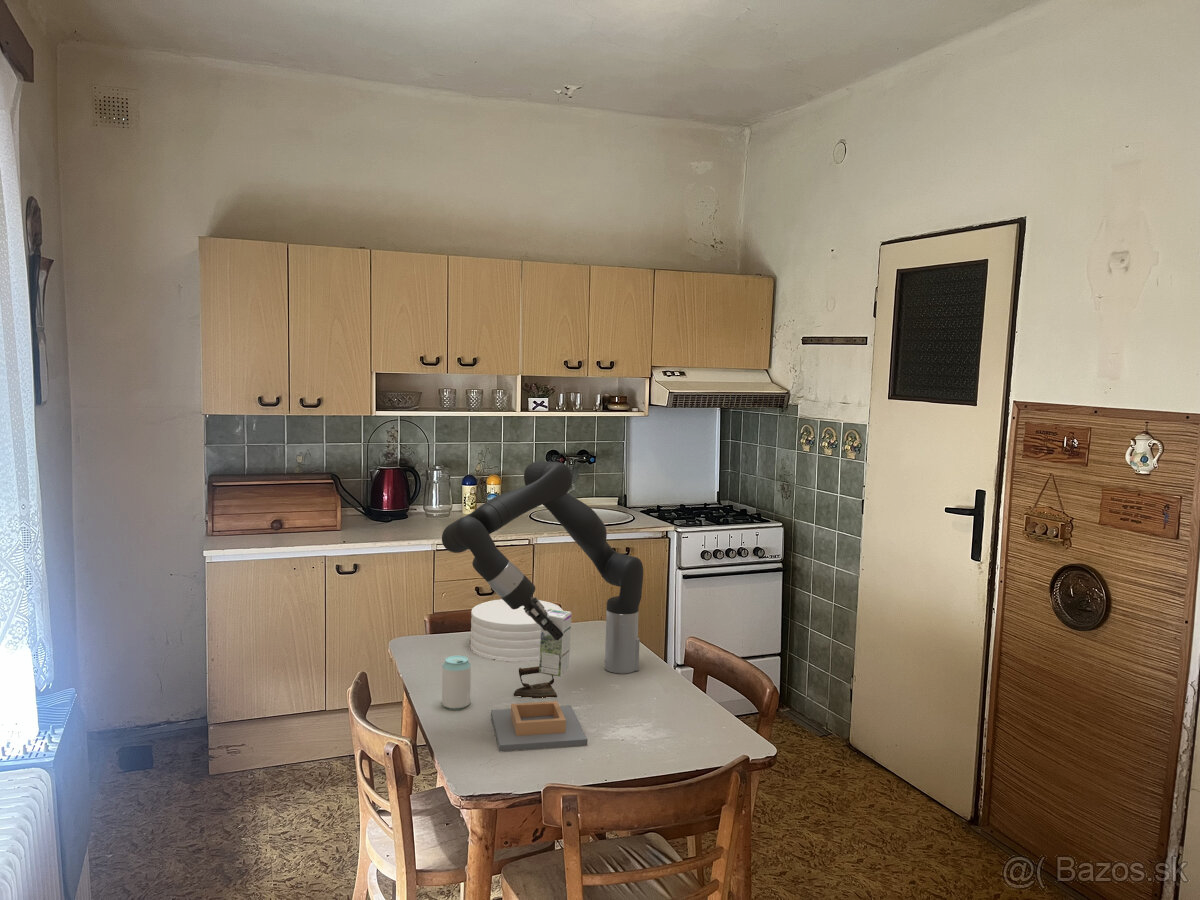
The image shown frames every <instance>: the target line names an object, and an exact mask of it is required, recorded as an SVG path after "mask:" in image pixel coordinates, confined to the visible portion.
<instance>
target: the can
mask: <svg viewBox="0 0 1200 900" xmlns="http://www.w3.org/2000/svg"><path fill="white" fill-rule="evenodd" d="M444 660H445V661H444V662H443V664H442V669H441V670H442V674H441V675H442V680H441V681H442V682H441V683H442V684H441V689H442V690H441V694H442V695H441V705H443V706H444V707H445V708H446V707H447V708H446V709H448V708H450V709H449V710H454V709H456V710H461V709H460V708H462V709H465V708H467V706H469V705H470V704H471V691H472V690H471V686H472V685H471V679H472V678H471V677H472V675H471V674H472V664H471V662H469V658H468V657H467V656H464V655H451V656H450V655H449V656H447V657H446V658H445V659H444ZM464 707H465V708H464Z"/></svg>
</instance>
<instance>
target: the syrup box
mask: <svg viewBox="0 0 1200 900" xmlns="http://www.w3.org/2000/svg"><path fill="white" fill-rule="evenodd" d="M546 612H547V613H548V614H549V615H548V617H549V618H550V619H551V620H552V621H553V623H554V624H555V625H556V626H557V627H558V628H559V629H560V630H561V632H562V633H563V636H562V637H561V638H560V639H559V640H556V639H555V638H554V637H553V636H552V635H551V634H550V633H549V632H548V631H547V630H546V631H545V630H543V628H542V627H541V639H540V660H539V663H538V664H539V665H538V666H539V673H538V674H544V675H549V676H552V675H553V677H554V676H555V677H562V676H564V675H565V674H566V673H568V671H570V670H569V669H570V646H571V630H572V611H567V610H563V611H561V610H554V609H549V610H547V611H546ZM547 622H548V621H547V620H546V619H544V620H543V621H542V623H543V624H544V625H545V624H546V623H547Z"/></svg>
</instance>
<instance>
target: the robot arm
mask: <svg viewBox="0 0 1200 900" xmlns="http://www.w3.org/2000/svg"><path fill="white" fill-rule="evenodd" d="M523 481H524V484H525V486H522V487H519V488H515V489H513V490H509V491H507V492H504V493H501V494H499V495H497V496H495V497H492V498H491V499H489V500H488V501H486V502H484V503H483V504H482V505H480V506H479V507H477V508H476V509H474V510H473V511H472V512H470V513H468V514H466V515H465V516H462V517H460V518H458V519H456V520H455V521H454V522H452V523H450V524H448V525H447V526H446V527H445V528H444V529H443V531H442V534H441V543H442V546H443V547H444V548H445V549H446V550H447V551H448V552H450V553H454V554H459V553H463V552H466V551H467V550H470V552H471V553H472V555H473V556H474V557H473V560H472V562H471V563H472V567H473V569H474V570H475V572H477V573H478V574H479V575H480V576H481V577H482V578H483V579H484V580H485V582H486V583H487V584H488V585H489V586H490V588H491V589H492V590H493V591H494V593H496V594H497V595H498V596H499V598H500V599H503V600H504V601H505V602H506V603H507V604H508V605H509V606H510V607H511V608H512V609H518V608H520V607H521V606H524V608H523V609H524V610H525V612H526V614H527V615H528V616H530V617H531V618H532V619H533V620H534V621H535V622H536V623H537V624H539V625H540V626H541V627H542V628H543V630H545V631H546V630H547V631H548V632H549V633H550V634H551V635H552V636H553V637H554V638H555V639H556V640H559V639H560V638H561V637H562V636H563V633H562V632H561V630H560V629H559V628H558V627H557V626H556V625H555V624H554V623H553V621H552V620H551V619H550V618H549V617H548V615H549V614H548V613H547V612H546V610H545V609H544V606H543V605H542V604H541V603H540V601H539V600H540V599H538V598H537V597H536V596H535V597H534V596H533V595H534V594H535V592H536V586H535V584H533V582H532V581H531V580H530V579H529V577H527V575H525V574H524V573H523V572H522V571H521V570H520V569H519V567H517V566H516V565H515V564H514V563H512V561H510V560H509V559H508V558H507V557H506V556H505V555H504V554H503V553H502V551H501V550H499V549H498V548H497V546H496V543H495V541H494V540H493V538H492V536H491V534H493V533H495V532H497V531H499V530H500V529H502V528H503V527H505V526H506V525H507V524H509V523H510V522H512V521H513V520H515V519H517V518H518V517H520V516H522V515H524V514H526V513H527V512H530V511H532V510H533V509H537V508H538V507H540V506H543V507H544V508H545V509H547V510H548V511H549V512H550V513H551V515H553V517H554V518H555V520H556V521H557V522H558V523H559V524H560V525H561V526H562V527H563V529H564V530H566V532H567V534H568V535H569V536H570V537H571V538H572V540H573V541H574V542H575V543H576V544H577V546H579V547H580V549H581V550H582V551H583V552H584V553H585V555H587V557H588V558H589V559H590V560H591V562H592V563H593V564H594V566H595V568H596V569H597V571H598V573H599V574H600V576H601V577H602V578H603V580H604V581H605V582H606V583H608V584H610V585H611V586H616V587H619V594H618V596H617V595H616V596H612V597H609V598H608V599H607V600H606V611H605V612H606V613H605V614H606V617H605V642H604V643H605V645H604V646H605V649H604V669H605V670H606V671H608V672H609V673H613V674H614V673H615V674H630V673H633V672H638V671H639V669H640V667H639V666H640V665H639V664H640V644H641V643H640V637H639V633H638V632H639V609H640V603H641V601H642V593H643V583H644V566H643V563H642V560H641V559H640V558H638V557H637V556H632V555H628V554H624V553H619V552H617V551H616V550H615V549H614V548H612V546H610V544H609V542H608V541H607V535H608V534H607V528H606V525H605V523H604V522H603V521H602V520H603V519H601V517H600V516H599V515H598V514H597V512H595V510H594V509H592V508H591V507H590V506H589V505H587V504H586V503H584V502H583V501H581V500H579V499H578V498H577V497H574V496H573V495H571V494H570V493H568V492H569V491H570V489H571V487H572V483H573V473H572V471H571V469H570V467H569V466H568V465H566V463H563V462H559V461H545V460H542V461H541V460H539V461H538V460H537V461H533V462H531V463H529V464H528V465H527V466H526V468H525V469H524V473H523ZM544 619H546V620H547V621H548V622H547V623H546V624H545V625H544V624H543V623H542V621H543V620H544Z"/></svg>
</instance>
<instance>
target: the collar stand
mask: <svg viewBox="0 0 1200 900" xmlns="http://www.w3.org/2000/svg"><path fill="white" fill-rule="evenodd" d="M491 717H492V718H491ZM490 718H491V722H492V726H493V731H494V730H495V731H494V734H496V735H495V738H496V739H495V740H496V742H497V746H498V747H497V748H498V750H499V751H504V752H516V751H515V750H518V751H529V750H531V749H532V750H541V749H543V750H544V748H546V749H556V748H557V747H559V748H560V749H561V748H571V747H573V748H574V747H585V746H588V738H587V736H586V733H585V731H584V729H583V728H582V727H583V726H582V724H581V723H580V721H579V719H578V717H577V715H576V713H575V710H574V708H573V707H572V705H571V704H570V705H569V704H568V705H560V704H559V702H558V700H555V701H537V702H536V701H535V702H521V703H510V708H502V709H500V708H499V709H491V710H490ZM559 748H557V749H559Z"/></svg>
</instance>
